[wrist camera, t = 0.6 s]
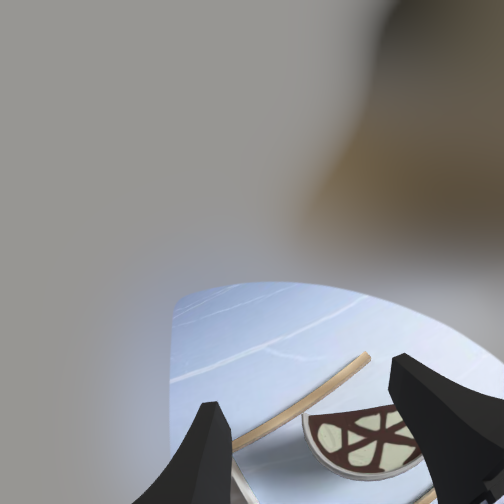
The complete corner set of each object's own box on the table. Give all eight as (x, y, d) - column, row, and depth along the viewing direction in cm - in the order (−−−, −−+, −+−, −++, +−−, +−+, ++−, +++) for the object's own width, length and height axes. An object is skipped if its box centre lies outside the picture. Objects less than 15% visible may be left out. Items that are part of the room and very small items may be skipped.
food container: (316, 479, 20) (290, 488, 13) (318, 426, 24) (295, 412, 17) (435, 460, 16) (465, 460, 9) (432, 407, 20) (458, 383, 13)
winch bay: (467, 465, 13) (486, 464, 10) (291, 574, 11) (275, 591, 7) (365, 354, 27) (363, 335, 24) (215, 453, 25) (189, 448, 22)
